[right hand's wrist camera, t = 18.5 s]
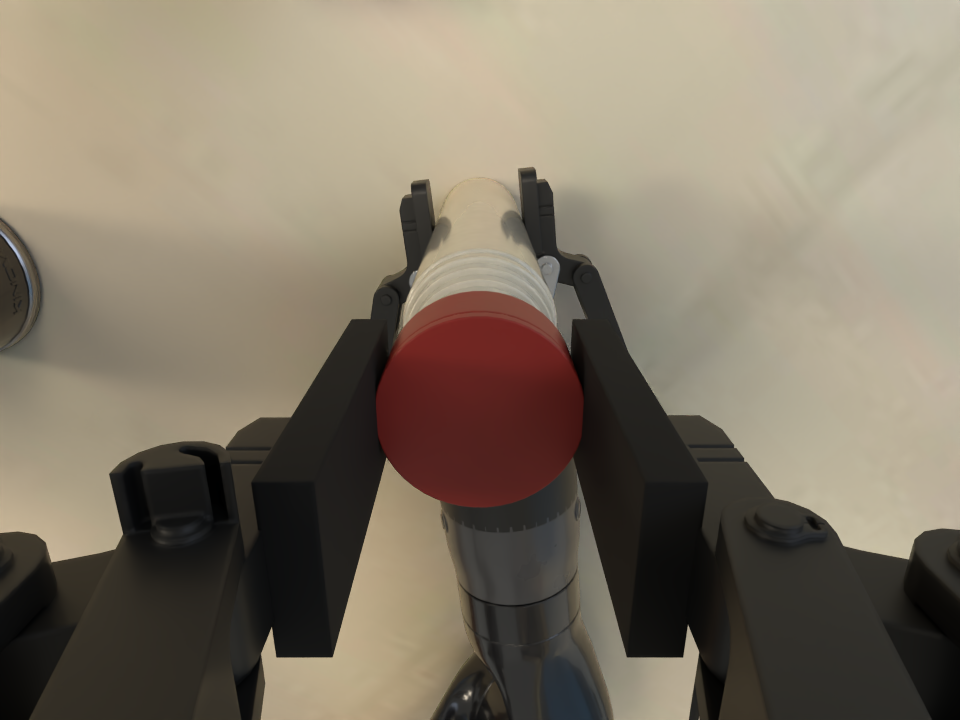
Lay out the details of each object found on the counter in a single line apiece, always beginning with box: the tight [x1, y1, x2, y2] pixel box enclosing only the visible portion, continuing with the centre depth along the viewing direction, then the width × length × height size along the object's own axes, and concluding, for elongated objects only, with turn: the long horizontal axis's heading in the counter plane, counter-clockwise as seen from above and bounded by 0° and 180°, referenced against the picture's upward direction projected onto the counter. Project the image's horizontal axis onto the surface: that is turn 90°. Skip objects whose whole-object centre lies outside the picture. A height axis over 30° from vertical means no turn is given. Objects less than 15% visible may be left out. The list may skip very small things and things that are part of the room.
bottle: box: [403, 178, 557, 328], centre depth 25 cm, size 4×4×25 cm
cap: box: [376, 291, 584, 507], centre depth 13 cm, size 4×4×2 cm
